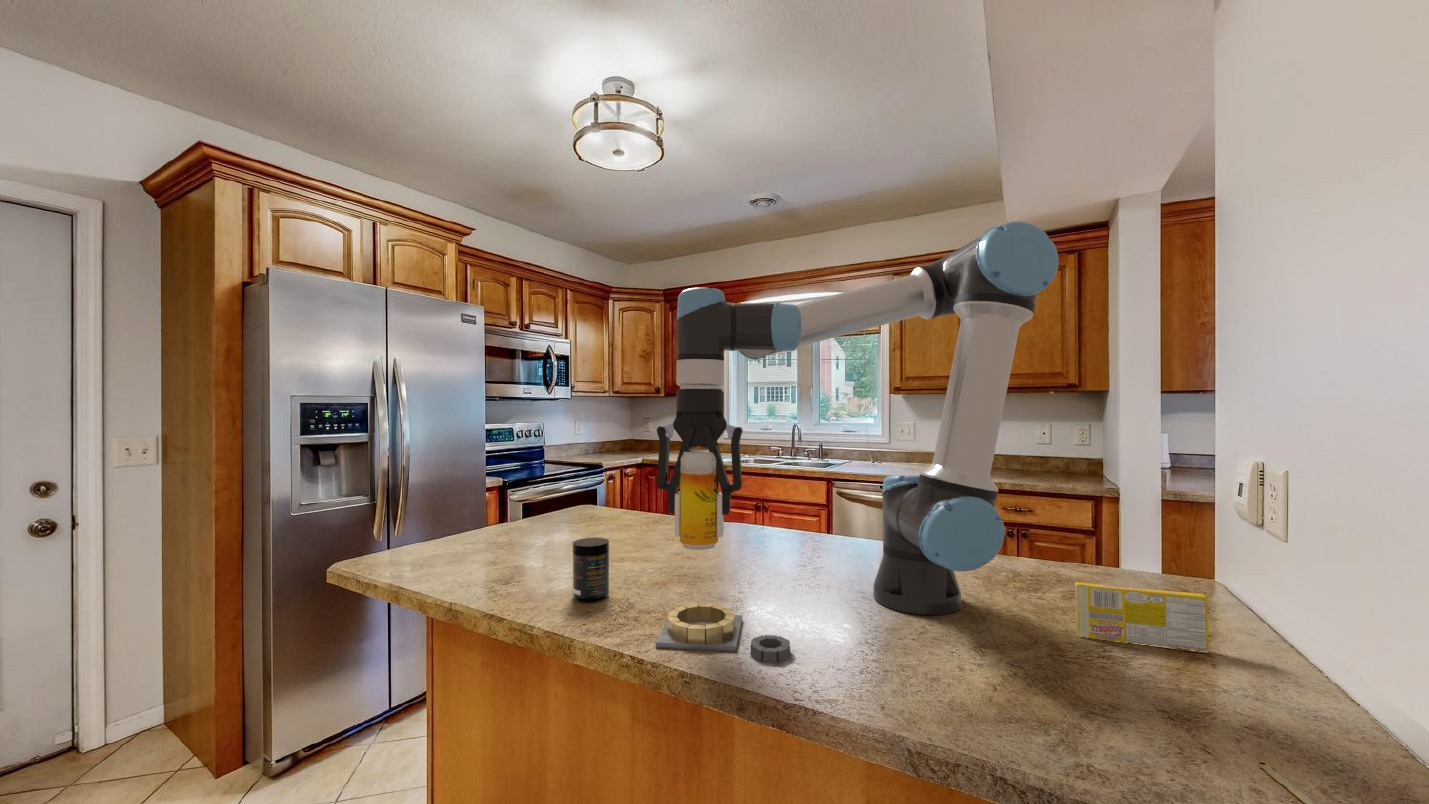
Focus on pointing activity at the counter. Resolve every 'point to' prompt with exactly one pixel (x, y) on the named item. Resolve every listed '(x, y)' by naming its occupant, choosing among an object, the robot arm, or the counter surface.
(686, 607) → the collar block
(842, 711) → the counter surface
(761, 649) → the ring
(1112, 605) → the candy box
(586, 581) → the supplement container
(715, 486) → the beer can
